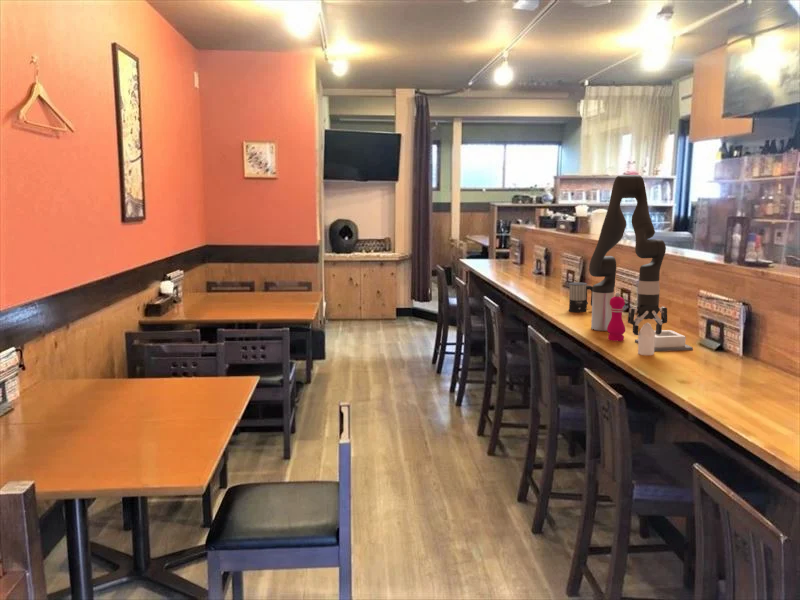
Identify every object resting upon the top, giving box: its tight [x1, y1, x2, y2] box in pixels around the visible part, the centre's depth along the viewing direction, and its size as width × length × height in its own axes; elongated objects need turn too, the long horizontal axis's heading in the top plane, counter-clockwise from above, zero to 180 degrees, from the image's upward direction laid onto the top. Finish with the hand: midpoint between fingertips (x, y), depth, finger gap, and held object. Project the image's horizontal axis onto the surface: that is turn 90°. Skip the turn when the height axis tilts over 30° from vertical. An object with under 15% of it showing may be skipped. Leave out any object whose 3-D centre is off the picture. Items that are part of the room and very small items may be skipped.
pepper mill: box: [606, 292, 626, 342], centre depth 258 cm, size 7×7×20 cm
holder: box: [634, 329, 694, 352], centre depth 247 cm, size 16×16×5 cm
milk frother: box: [568, 281, 593, 313], centre depth 328 cm, size 14×16×15 cm
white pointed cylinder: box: [637, 322, 655, 356], centre depth 235 cm, size 6×12×6 cm
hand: (646, 334), depth 235 cm, fingers open, 8 cm apart
